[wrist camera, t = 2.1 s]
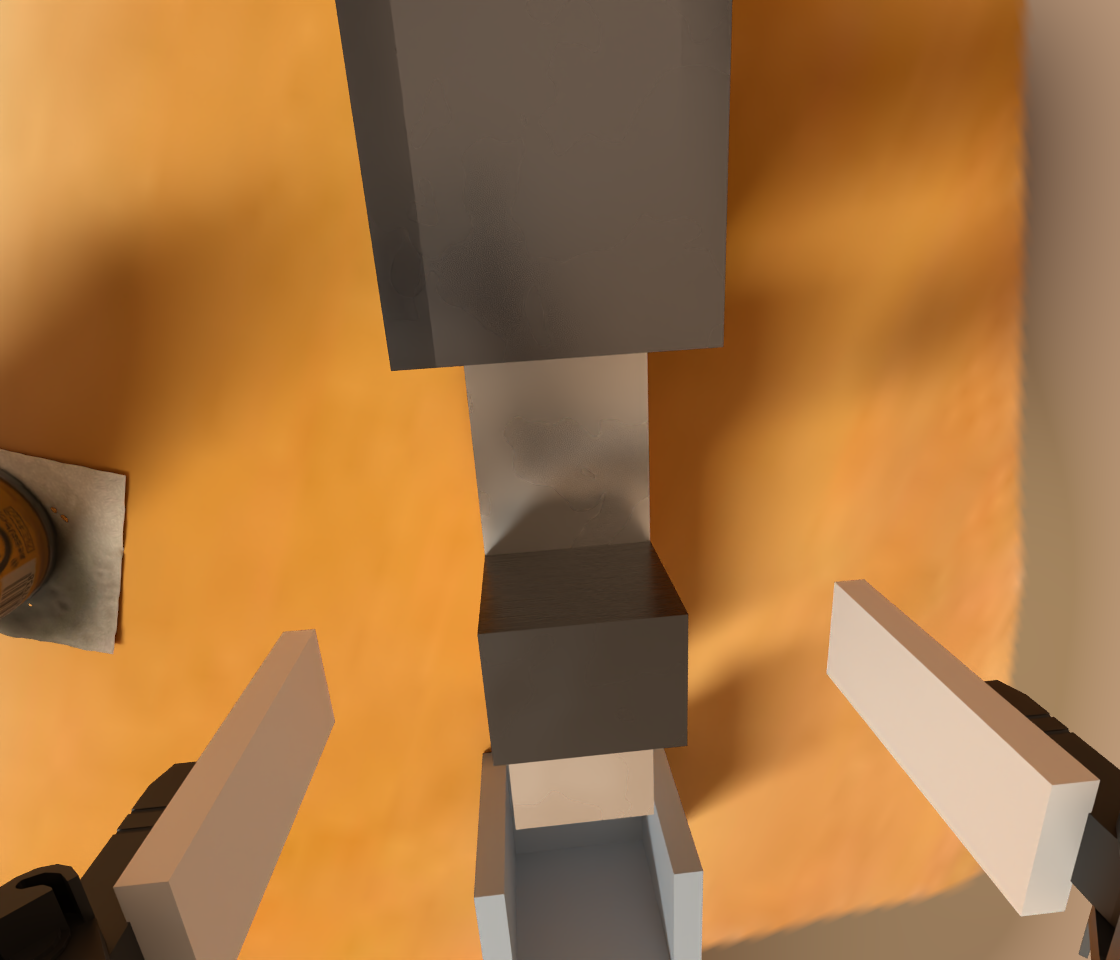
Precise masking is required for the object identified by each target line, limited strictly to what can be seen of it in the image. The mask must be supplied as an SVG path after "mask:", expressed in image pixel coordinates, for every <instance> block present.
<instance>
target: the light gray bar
mask: <svg viewBox="0 0 1120 960" xmlns="http://www.w3.org/2000/svg"><path fill="white" fill-rule="evenodd" d="M464 371H465V380H466V388H467V397H468V406H469V415H470V424H471V433H472V442H473V451H474V460H475V469H476V478H477V487H478V496H479V505H480V514H481V523H482V532H483V540H484V549H485V563H484V573H483V583H482V594H481V604H480V614H479V624H478V642H479V651H480V659H481V667H482V675H483V683H484V692H485V700H486V708H487V716H488V724H489V732H490V741H491V749H492V757H493V765H494V766H500V765H509V773H510V782H511V791H512V800H513V809H514V818H515V827H516V830H518V829H527V828H536V827H545V826H554V825H563V824H572V823H581V822H590V821H599V820H608V819H617V818H626V817H635V816H644V815H653V814H654V774H653V749H661V748H671V747H680V746H687V705H688V613H687V611H686V609H685V607H684V605H683V603H682V602H681V600H680V598H679V596H678V594H677V592H676V590H675V588H674V586H673V584H672V582H671V580H670V578H669V576H668V575H667V573H666V571H665V569H664V567H663V565H662V563H661V561H660V559H659V557H658V555H657V553H656V551H655V549H654V548H653V546H652V544H651V542H650V498H649V429H648V360H647V353H633V354H619V355H606V356H592V357H578V358H564V359H550V360H536V361H522V362H508V363H495V364H481V365H467V366H464Z"/></svg>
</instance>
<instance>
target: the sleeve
mask: <svg viewBox="0 0 1120 960" xmlns="http://www.w3.org/2000/svg"><path fill="white" fill-rule="evenodd" d="M335 2H336V9H337V16H338V22H339V29H340V35H341V42H342V49H343V55H344V62H345V69H346V75H347V82H348V88H349V95H350V102H351V108H352V115H353V122H354V128H355V135H356V141H357V148H358V155H359V161H360V168H361V175H362V181H363V188H364V194H365V201H366V208H367V214H368V221H369V228H370V234H371V241H372V248H373V254H374V261H375V267H376V274H377V281H378V287H379V294H380V301H381V307H382V314H383V320H384V327H385V334H386V340H387V347H388V354H389V360H390V367H391V371H397V370H411V369H425V368H439V367H453V366H467V365H481V364H495V363H508V362H522V361H536V360H550V359H564V358H578V357H592V356H606V355H619V354H633V353H647V352H661V351H675V350H689V349H703V348H717V347H723V344H724V305H725V265H726V226H727V187H728V148H729V108H730V69H731V30H732V0H335Z"/></svg>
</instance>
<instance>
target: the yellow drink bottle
mask: <svg viewBox="0 0 1120 960" xmlns="http://www.w3.org/2000/svg"><path fill="white" fill-rule="evenodd" d="M125 482H126V476H125V475H120V474H116V473H111V472H104V471H99V470H95V469H91V468H87V467H83V466H78V465H71V464H65V463H60V462H57V461H52V460H48V459H44V458H40V457H33V456H27V455H24V454H21V453H16V452H11V451H7V450H3V449H0V633H2V634H4V635H7V636H11V637H15V638H28V639H34V640H38V641H46V642H53V643H58V644H64V645H69V646H72V647H76V648H80V649H83V650H89V651H98V652H103V653H109V654H113V651H114V642H115V633H116V630H117V617H118V599H119V594H120V581H121V562H122V556H123V554H124V553H123V551H124V548H123V523H124V515H125V505H124V500H125ZM51 507H54V508H56V510H57V513H54V512H53V511H52V510H51ZM61 515H64V516H66V517H67V518H68V522H65V521H64V520H63V519H62V518H61ZM29 603H30V604H31V605H32V606H29Z"/></svg>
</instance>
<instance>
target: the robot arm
mask: <svg viewBox="0 0 1120 960" xmlns="http://www.w3.org/2000/svg"><path fill="white" fill-rule="evenodd" d="M827 674H828V676H829V677H830V678H831V679H832V681H833V682H834V683H835V684H836V686H837V687H838V688H839V689H840V691H841V692H842V693H843V694H844V696H845V697H846V698H847V699H848V701H849V702H850V703H851V704H852V706H853V707H854V708H855V709H856V711H857V712H858V713H859V714H860V716H861V717H862V718H863V719H864V721H865V722H866V723H867V724H868V726H869V727H870V728H871V729H872V731H873V732H874V733H875V735H876V736H877V737H878V738H879V740H880V741H881V742H882V743H883V745H884V746H885V747H886V748H887V750H888V751H889V752H890V753H891V755H892V756H893V757H894V758H895V760H896V761H897V762H898V763H899V765H900V766H901V767H902V768H903V770H904V771H905V772H906V773H907V775H908V776H909V777H910V778H911V780H912V781H913V782H914V783H915V785H916V786H917V787H918V788H919V790H920V791H921V792H922V793H923V795H924V796H925V797H926V798H927V800H928V801H929V802H930V803H931V805H932V806H933V807H934V808H935V810H936V811H937V812H938V813H939V815H940V816H941V817H942V818H943V820H944V821H945V822H946V823H947V825H948V826H949V827H950V828H951V830H952V831H953V832H954V833H955V835H956V836H957V837H958V838H959V840H960V841H961V842H962V843H963V845H964V846H965V847H966V848H967V850H968V851H969V852H970V853H971V855H972V856H973V857H974V858H975V860H976V861H977V862H978V864H979V865H980V866H981V867H982V869H983V870H984V871H985V872H986V874H987V875H988V876H989V877H990V879H991V880H992V881H993V882H994V884H995V885H996V886H997V887H998V888H999V890H1000V891H1001V892H1002V894H1003V895H1004V896H1005V897H1006V898H1007V900H1008V901H1009V902H1010V903H1011V905H1012V906H1013V907H1014V908H1015V910H1016V911H1017V912H1018V914H1019V915H1020V916H1028V915H1036V914H1044V913H1053V912H1061V911H1065V908H1066V905H1067V901H1068V897H1069V893H1070V890H1071V886H1072V883H1073V884H1074V885H1075V886H1076V888H1077V889H1078V890H1079V891H1080V892H1081V893H1082V894H1083V895H1084V896H1085V897H1086V898H1087V899H1088V901H1090V903H1091V904H1092V909H1091V912H1090V916H1089V919H1088V923H1087V926H1086V930H1085V933H1084V937H1083V940H1082V943H1081V947H1080V951H1079V955H1081V956H1083V957H1085V958H1088V955H1089V952H1090V950H1091V960H1120V770H1119V769H1118V768H1117V767H1116V766H1114V765H1113V764H1112V763H1111V762H1109V761H1108V760H1107V759H1106V758H1104V757H1103V756H1102V755H1100V754H1099V753H1098V752H1097V751H1096V750H1094V749H1093V748H1092V747H1091V746H1089V745H1088V744H1087V743H1086V742H1084V741H1083V740H1082V739H1081V738H1080V737H1078V736H1077V735H1076V734H1074V733H1070V732H1069V730H1068V728H1067V727H1066V726H1065V725H1063V724H1062V723H1061V722H1060V721H1058V720H1057V719H1056V718H1055V717H1050V715H1049V713H1048V712H1047V711H1046V710H1045V709H1043V708H1042V707H1041V706H1040V705H1038V704H1037V703H1036V702H1035V701H1034V700H1032V699H1031V698H1030V697H1029V696H1027V695H1026V694H1024V693H1022V692H1020V691H1018V690H1016V689H1014V688H1012V687H1010V686H1008V685H1006V684H1004V683H1002V682H1000V681H998V680H993V681H983V680H982V679H981V678H979V677H978V676H977V675H976V674H975V673H974V672H972V671H971V670H970V669H969V668H968V667H966V666H965V665H964V664H963V663H962V662H961V661H959V660H958V659H957V658H956V657H955V656H953V655H952V654H951V653H950V652H949V651H948V650H946V649H945V648H944V647H943V646H942V645H941V644H939V643H938V642H937V641H936V640H935V639H933V638H932V637H931V636H930V635H929V634H928V633H926V632H925V631H924V630H923V629H922V628H920V627H919V626H918V625H917V624H916V623H915V622H913V621H912V620H911V619H910V618H909V617H908V616H906V615H905V614H904V613H903V612H902V611H900V610H899V609H898V608H897V607H896V606H895V605H893V604H892V603H891V602H890V601H889V600H888V599H886V598H885V597H884V596H883V595H882V594H880V593H879V592H878V591H877V590H876V589H875V588H873V587H872V586H871V585H870V584H869V583H867V582H866V581H865V580H864V579H862V580H851V581H840V582H835V584H834V595H833V607H832V618H831V629H830V641H829V652H828V663H827ZM334 723H335V719H334V715H333V710H332V705H331V701H330V696H329V691H328V687H327V682H326V678H325V673H324V668H323V664H322V659H321V654H320V650H319V645H318V640H317V636H316V631H315V629H311V630H300V631H289V632H283V633H282V635H281V636H280V638H279V639H278V641H277V642H276V644H275V645H274V647H273V648H272V650H271V651H270V653H269V654H268V656H267V657H266V659H265V660H264V662H263V663H262V665H261V666H260V668H259V669H258V671H257V672H256V674H255V675H254V677H253V678H252V680H251V681H250V683H249V684H248V686H247V687H246V689H245V690H244V692H243V693H242V695H241V696H240V698H239V699H238V701H237V702H236V704H235V705H234V707H233V708H232V710H231V711H230V713H229V714H228V716H227V717H226V719H225V720H224V722H223V723H222V725H221V726H220V728H219V729H218V731H217V732H216V734H215V735H214V737H213V738H212V740H211V741H210V743H209V744H208V746H207V747H206V749H205V750H204V752H203V753H202V755H201V756H200V758H199V759H198V761H197V762H188V763H178V764H174V765H173V766H172V767H171V768H169V769H168V770H167V771H166V772H165V773H163V774H162V775H161V776H160V777H159V778H158V779H156V780H155V781H154V782H153V783H152V784H150V785H149V786H148V788H147V789H146V791H145V792H144V793H143V795H142V796H141V797H140V799H139V800H138V801H137V803H136V804H135V806H134V807H133V808H132V812H131V814H128V815H127V817H126V818H125V819H124V821H123V822H122V823H121V825H120V826H119V827H118V829H117V833H116V834H115V835H113V836H112V837H111V838H110V840H109V841H108V843H107V844H106V845H105V847H104V848H103V849H102V851H101V852H100V853H99V855H98V856H97V858H96V859H95V860H94V862H93V863H92V864H91V866H90V867H89V869H88V870H87V871H86V873H85V874H84V875H83V877H82V878H81V879H80V878H79V876H78V874H77V873H76V872H75V871H74V869H73V868H72V867H71V866H65V865H59V864H56V865H50V866H45V867H40V868H37V869H34V870H32V871H29V872H27V873H25V874H22V875H20V876H18V877H15V878H14V879H12V880H11V881H9V882H7V883H6V884H4V885H3V886H1V887H0V960H237V957H238V955H239V952H240V950H241V948H242V945H243V943H244V940H245V938H246V936H247V933H248V931H249V928H250V926H251V923H252V921H253V919H254V916H255V914H256V911H257V909H258V906H259V904H260V902H261V899H262V897H263V894H264V892H265V890H266V887H267V885H268V882H269V880H270V877H271V875H272V873H273V870H274V868H275V865H276V863H277V861H278V858H279V856H280V853H281V851H282V848H283V846H284V844H285V841H286V839H287V836H288V834H289V831H290V829H291V827H292V824H293V822H294V819H295V817H296V815H297V812H298V810H299V807H300V805H301V802H302V800H303V798H304V795H305V793H306V790H307V788H308V785H309V783H310V781H311V778H312V776H313V773H314V771H315V769H316V766H317V764H318V761H319V759H320V756H321V754H322V752H323V749H324V747H325V744H326V742H327V739H328V737H329V735H330V732H331V730H332V727H333V725H334Z"/></svg>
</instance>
